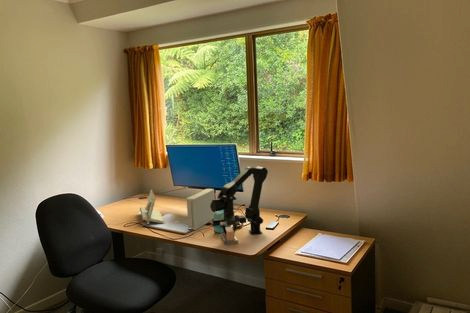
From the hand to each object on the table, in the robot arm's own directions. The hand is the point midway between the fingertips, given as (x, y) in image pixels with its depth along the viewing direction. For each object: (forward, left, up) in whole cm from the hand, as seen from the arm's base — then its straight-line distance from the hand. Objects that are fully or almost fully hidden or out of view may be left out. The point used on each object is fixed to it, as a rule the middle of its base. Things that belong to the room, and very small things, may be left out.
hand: (229, 235), depth 208 cm
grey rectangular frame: (0, 0, -3) cm, 3 cm away
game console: (-35, -12, -3) cm, 37 cm away
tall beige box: (0, 0, -3) cm, 3 cm away
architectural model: (-56, -44, -3) cm, 72 cm away
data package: (-18, -1, -3) cm, 18 cm away
